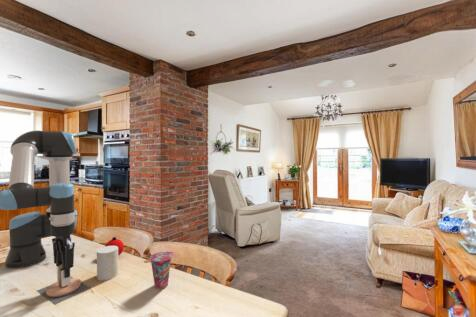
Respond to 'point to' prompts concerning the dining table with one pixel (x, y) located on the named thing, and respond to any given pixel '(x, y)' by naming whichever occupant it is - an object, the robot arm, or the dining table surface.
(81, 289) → the mat
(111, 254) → the white round pillar
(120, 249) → the ornament
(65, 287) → the lid
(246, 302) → the dining table surface
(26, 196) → the robot arm
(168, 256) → the cup
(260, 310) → the dining table surface
